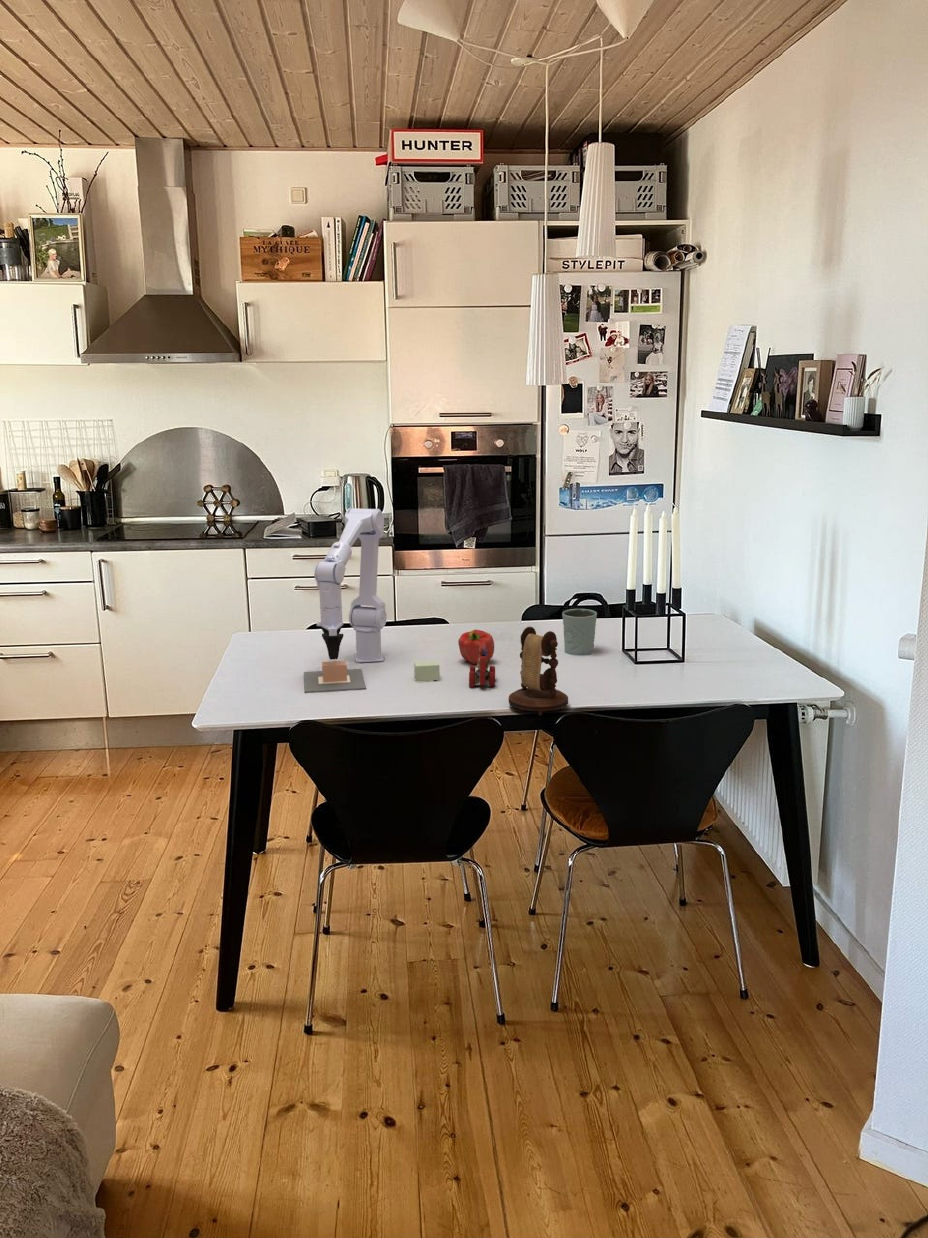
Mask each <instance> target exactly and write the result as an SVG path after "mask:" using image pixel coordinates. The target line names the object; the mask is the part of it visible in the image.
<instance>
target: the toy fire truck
mask: <svg viewBox="0 0 928 1238" xmlns="http://www.w3.org/2000/svg"><path fill="white" fill-rule="evenodd" d="M486 655H487V650H486V642H480V657H479V659H478V664H476V665H470V666H469V673H468V675H469V676H468V687H470V686H474V687H475V686H476V685H480V686H486V682H488V687H490V686H494V687H495V685H496V684H495V683H496V665H490V666H489V662H487V660H486ZM476 667H477V669H476ZM488 668H489V669H488Z"/></svg>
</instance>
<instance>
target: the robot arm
mask: <svg viewBox="0 0 928 1238" xmlns="http://www.w3.org/2000/svg"><path fill="white" fill-rule="evenodd" d="M343 520H344V528H343V531H342V533H341V536H340V538H339V541H335V542H334V543H332V545H331V547H330V548H329V550H328V552H327V554H326V555H325V557H324V559H323V560H322V561H320V562H319V563H317V564H316V565H315V568H314V580H315V581H316V588H317V589H318V591H319V608H320V609H319V610H320V621H316V627H320V628H321V630H322V633H321V637H322V639H323V640H324V643H325V645H326V649H327V653H328V659H329V660H331V661H332V660H333V661H334V660H338V658H339V653H340V648H341V647H340V646H341V644H342V640H343V638H344V636H345V635H344V633H340V632H341V630H342V628H343V626H344V621H343V607H342V606H343V604H342V584H341V583H342V582H344V579H345V572H346V570H347V568H346V566H347V563H348V562H349V560H350V558H351V556H352V553H353V551H352V547H353V545H354V543H356V541H357V539H359V540H360V542H361V543H360V545H361V546H360V564H359V589H358V590H359V592H358V596H357V597H356V598H354V599H353V600H352V601H351V603H350V609H349V611H348V612H349V613H348V622H349V625H350V626H351V627H352V628H353V631H355V650H356V651H355V652H354V653H353V655H354V658H355V662H356V664H357V663H371V662H372V663H374V662H384V659H385V658H384V656H383V653H382V636H381V635H382V632H381V630H382V629H383V628H384V627H385V625H386V623H387V620H388V619H387V612H386V611H387V610H386V602H385V601H383V600H382V599H381V598H380V597H379V596H378V595H377V589H378V588H377V587H378V584H377V583H378V568H379V567H378V564H379V543H380V539H381V538H383V537H384V531H385V530H384V528H385V525H384V524H385V516H384V514H383V512H382V511H381V509H380V508H357V507H355V508H354V507H348V508H347V509H346V512H345V514H344V518H343Z"/></svg>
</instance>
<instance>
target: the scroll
mask: <svg viewBox="0 0 928 1238" xmlns="http://www.w3.org/2000/svg"><path fill="white" fill-rule="evenodd" d="M520 645H521V648H520V649H521V652H520V654H519V657H520V659H521V666H520V668H521V669H520V681H521V682H520V687H521V688H518V689H516V690H515V691H513V692H511V693H510V694H509V695H508V704H509V707H510V706H513V707H514V708H516V709H519V710H522V711H530V712H537V715H538V716H539V717H541V716H542V715H543V712H549V711H550V712H551V711H556V710H560V709H562V708H566V707H567V706H568V704H569V696H568V695H567V694H566V693H564V692H563V691H561V690H559V689H556V687H557V683H558V677H557V670H556V669H557V667H558V665H559V660H558V659H557V656H558V655H557V654H558V653H557V652H556V651H557V650H558V648H557V647H558V645H559V644H558V639H557V635H556V633H555V632H554V631H551V630H549V631H547V632H545V633H544V635H539V634H537V631H536V629H535V628H534V627H532V626H527V627H525V628H524V629H523V631H522V633H521V635H520ZM548 657H550V658H548ZM542 663H544V664H545V665H549V666H550V667H548V668H547V669H545V670H544V671H543V673H541V671H542ZM513 707H512V708H513Z"/></svg>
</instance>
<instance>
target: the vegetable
mask: <svg viewBox="0 0 928 1238" xmlns="http://www.w3.org/2000/svg"><path fill="white" fill-rule="evenodd" d="M480 642H486V650H487V655H486V660H487V663H489V661H490V660H491V659H492V658H493V656H494V653H495V641H494V638H493V636H492V635H491V633H488V632H486V631H484V630H481V629H472V630H471V631H465V632H463V633H462V634H461V635H460V637H459V638H458V641H457V643H458V648H459V652H460V655H461V657H462V658H463V660H465V661H466V662H469V663H470V664H473V665H477V664H478V659H479V657H480Z"/></svg>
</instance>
